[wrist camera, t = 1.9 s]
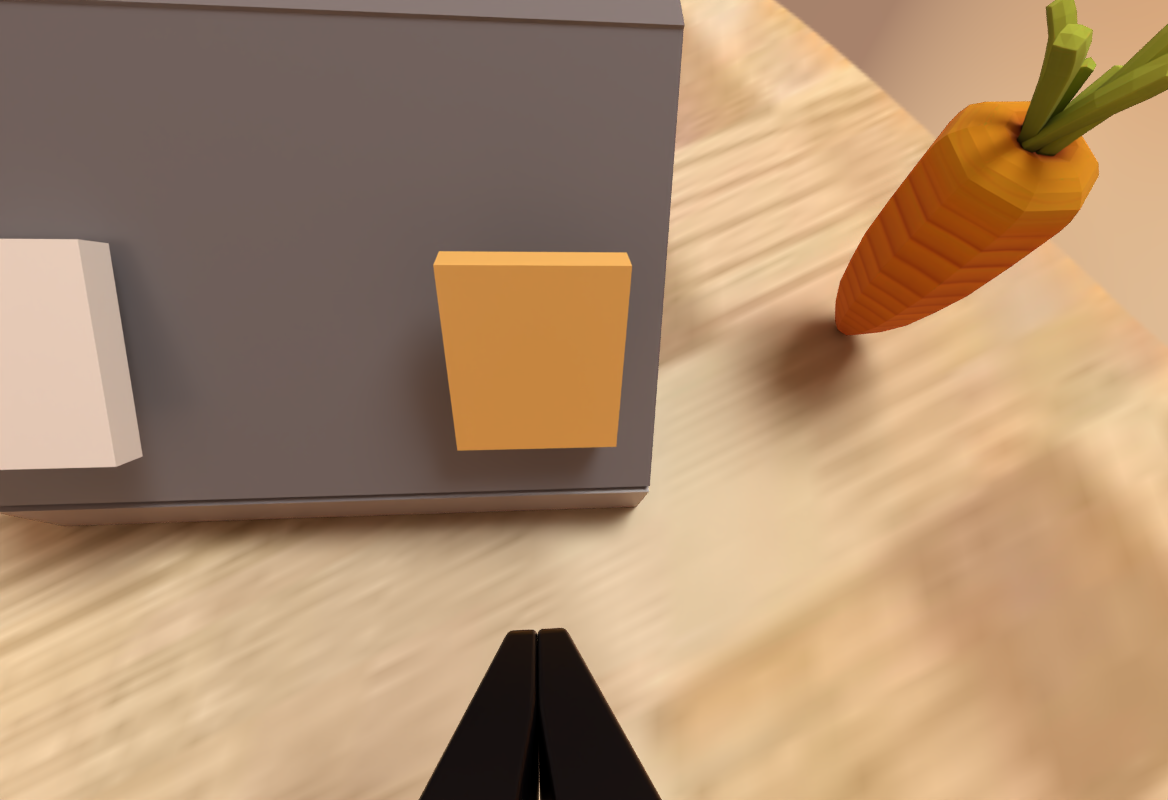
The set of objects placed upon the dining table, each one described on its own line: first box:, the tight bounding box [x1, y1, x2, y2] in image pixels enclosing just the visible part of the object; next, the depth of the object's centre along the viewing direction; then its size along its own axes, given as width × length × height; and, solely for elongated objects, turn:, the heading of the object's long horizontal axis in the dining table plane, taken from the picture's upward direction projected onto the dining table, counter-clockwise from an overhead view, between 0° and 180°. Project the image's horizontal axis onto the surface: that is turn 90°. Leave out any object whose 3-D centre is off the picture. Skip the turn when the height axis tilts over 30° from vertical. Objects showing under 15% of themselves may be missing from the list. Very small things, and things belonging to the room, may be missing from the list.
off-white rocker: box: [0, 239, 143, 470], centre depth 14 cm, size 5×5×5 cm
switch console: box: [0, 0, 684, 526], centre depth 17 cm, size 12×22×13 cm, turn 93°
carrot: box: [835, 0, 1168, 335], centre depth 19 cm, size 5×5×15 cm
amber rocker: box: [433, 251, 632, 451], centre depth 16 cm, size 5×5×5 cm
